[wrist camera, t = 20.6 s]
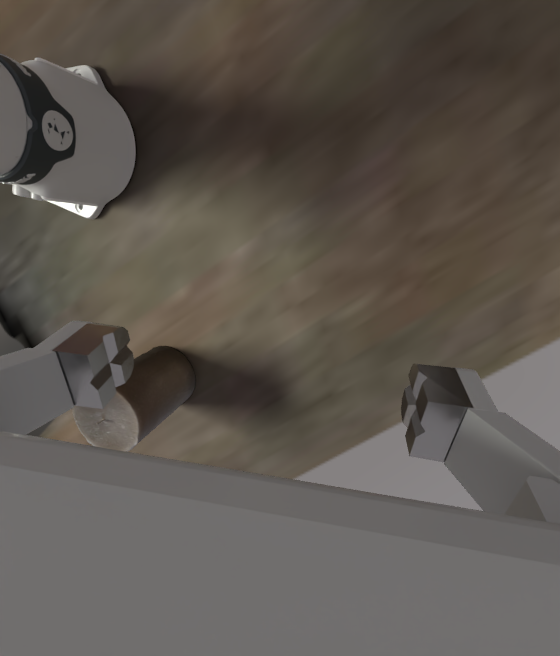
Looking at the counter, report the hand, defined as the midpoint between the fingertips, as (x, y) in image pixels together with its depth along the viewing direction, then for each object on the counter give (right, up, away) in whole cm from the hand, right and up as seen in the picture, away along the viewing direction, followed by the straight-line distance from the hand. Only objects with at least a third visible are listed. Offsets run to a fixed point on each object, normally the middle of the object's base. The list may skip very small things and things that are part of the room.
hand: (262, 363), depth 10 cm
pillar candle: (-17, -6, +45) cm, 48 cm away
